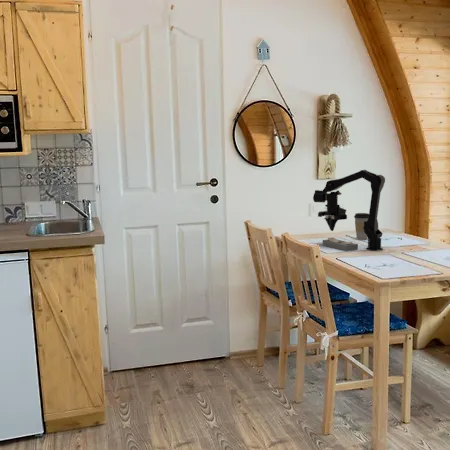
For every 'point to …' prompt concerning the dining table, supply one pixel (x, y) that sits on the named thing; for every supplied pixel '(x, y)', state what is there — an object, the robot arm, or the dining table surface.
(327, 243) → the rocker switch box
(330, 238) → the rocker far
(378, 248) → the robot arm
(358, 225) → the coffee cup
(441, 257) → the dining table surface
